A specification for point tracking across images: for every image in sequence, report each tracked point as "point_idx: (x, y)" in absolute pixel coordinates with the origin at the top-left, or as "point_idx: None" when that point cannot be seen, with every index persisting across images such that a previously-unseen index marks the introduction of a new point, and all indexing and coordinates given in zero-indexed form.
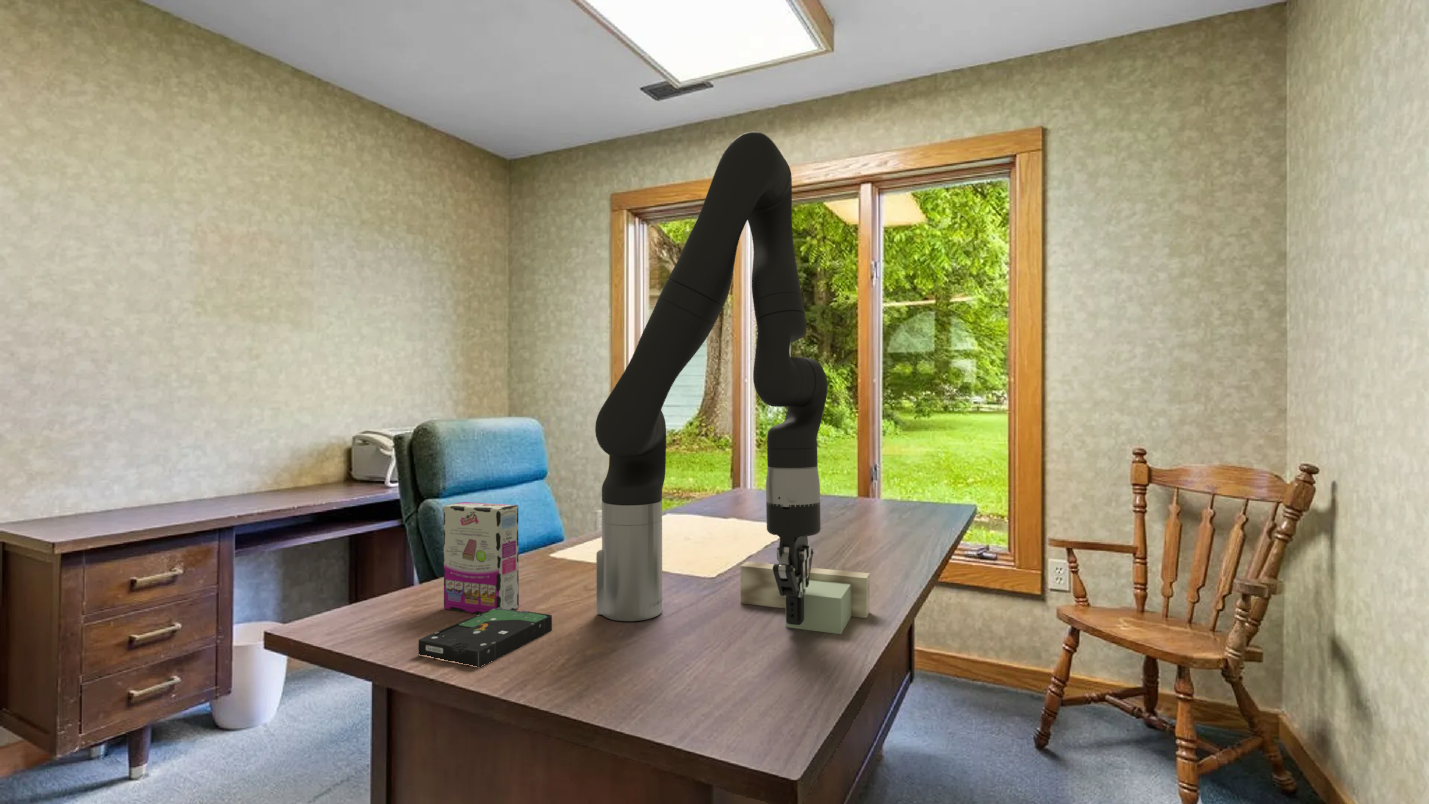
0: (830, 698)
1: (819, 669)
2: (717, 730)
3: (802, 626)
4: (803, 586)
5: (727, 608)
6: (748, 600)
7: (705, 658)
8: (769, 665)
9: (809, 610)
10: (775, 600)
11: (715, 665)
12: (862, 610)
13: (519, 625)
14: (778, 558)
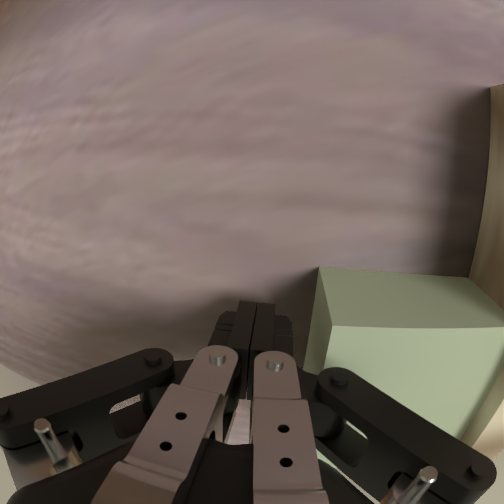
0: (29, 367)
1: (91, 361)
2: None
3: (312, 319)
4: (249, 432)
5: (435, 48)
6: (497, 111)
7: (38, 131)
8: (59, 274)
9: (311, 369)
10: (495, 207)
11: (20, 168)
12: None
13: None
14: (113, 473)
